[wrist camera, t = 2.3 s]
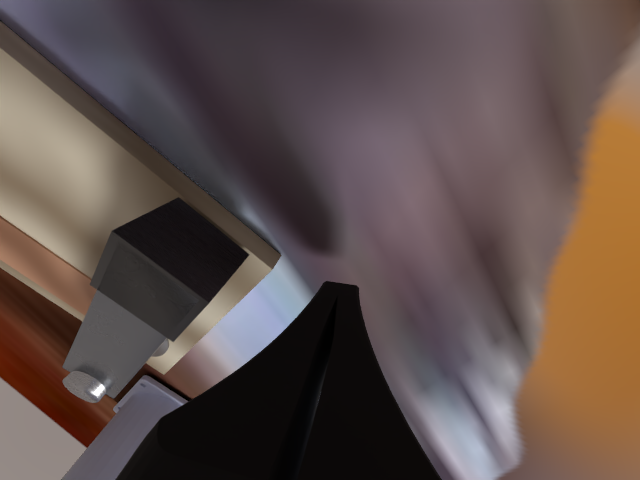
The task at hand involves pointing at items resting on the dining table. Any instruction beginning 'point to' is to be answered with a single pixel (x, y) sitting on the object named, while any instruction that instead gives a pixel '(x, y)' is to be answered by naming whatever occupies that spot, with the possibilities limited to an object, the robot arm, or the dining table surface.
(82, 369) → the leg
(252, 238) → the board
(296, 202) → the dining table surface
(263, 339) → the dining table surface
